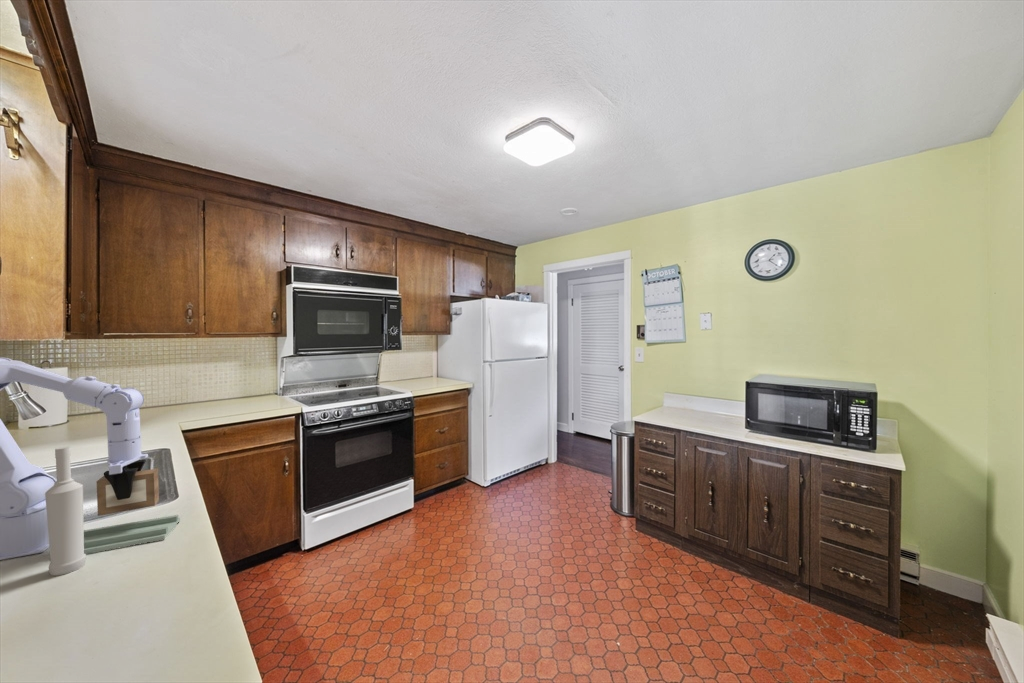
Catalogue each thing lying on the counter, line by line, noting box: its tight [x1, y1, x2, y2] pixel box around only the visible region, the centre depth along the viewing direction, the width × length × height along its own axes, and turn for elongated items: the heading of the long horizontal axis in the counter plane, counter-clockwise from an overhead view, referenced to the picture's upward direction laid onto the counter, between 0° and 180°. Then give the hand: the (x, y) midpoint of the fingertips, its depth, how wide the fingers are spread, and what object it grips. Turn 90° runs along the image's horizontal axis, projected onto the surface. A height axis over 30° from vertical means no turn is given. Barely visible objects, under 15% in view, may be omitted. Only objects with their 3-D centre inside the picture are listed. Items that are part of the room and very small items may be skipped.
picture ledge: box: [84, 514, 181, 555], centre depth 94 cm, size 18×10×2 cm, turn 114°
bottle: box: [45, 445, 87, 577], centre depth 81 cm, size 5×5×25 cm
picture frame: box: [96, 468, 160, 516], centre depth 96 cm, size 10×4×8 cm, turn 121°
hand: (127, 495), depth 96 cm, fingers closed on picture frame, 4 cm apart
